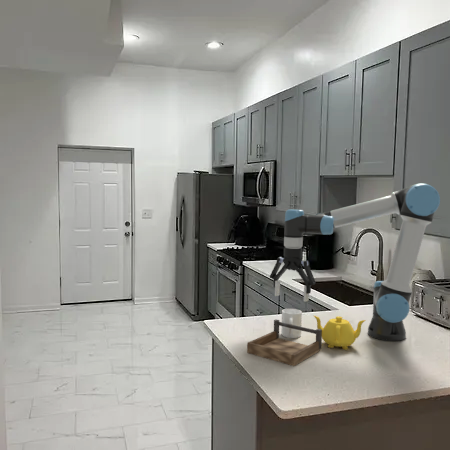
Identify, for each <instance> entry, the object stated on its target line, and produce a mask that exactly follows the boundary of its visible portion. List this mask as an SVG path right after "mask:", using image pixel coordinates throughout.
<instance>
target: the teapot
mask: <svg viewBox="0 0 450 450" xmlns="http://www.w3.org/2000/svg"><path fill="white" fill-rule="evenodd" d="M313 317H314V319H316V323H317V324H316V329H322V340H323V342H325V344H327V348H329V349H333V348H334V347H341V348H342V350H344V351H345V350H349V348H348V347H350V346H352V345H353V344H354V343H355V342H356V340H357V339H358V338H359V337H360V335H361V332H362V325H363V323H364V322H366V319H364V320H359V321H358V323H357V326H356V329H355V330H354V328H353V326H352V324H351V323H350V321H349V320H348V319H345V318H343V317H342V316H339V315H338V316H335V318H329V319H328V321H327V322H326V323H325V325H324V327H323V326H322V322H321V318H320V317H319V316H317V315H313Z"/></svg>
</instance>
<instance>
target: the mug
mask: <svg viewBox="0 0 450 450" xmlns="http://www.w3.org/2000/svg"><path fill="white" fill-rule="evenodd" d="M302 314H303V311H302V310H300V309H297V308H284V309H281V322H282V323H286V324H291V325H295V326H300V327H303V326H302V321H303V315H302ZM280 329H281V331H280V332H281V336H283V337H284V338H288V339H298V338H300V337H301V336H302V331H301V330H297V329H292V328H288V327H284V326H281V328H280Z"/></svg>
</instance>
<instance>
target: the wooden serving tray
mask: <svg viewBox="0 0 450 450" xmlns="http://www.w3.org/2000/svg"><path fill="white" fill-rule="evenodd" d="M282 326H284V327H288V328H292V329H297V330H301V332H306V333H311V334H315V341H313V342H312V343H309V344H305V343H304V344H303V343H299V342H296V341H292V340H288V339H283V338H280V327H282ZM322 340H323V339H322V329H317V328H316V329H312V328H308V327H305V326H304V327H303V326H301V327H300V326H295V325H291V324H286V323H282V321H280V319H274V320H273V330H272V331H270V332H269V333H266V334H264V335H261V336H259V337H257V338H254V339H253V340H250V341H248V342H247V345H246V346H247V348H246V353H247V354H251V355H253V356H256V357H257V356H258V357H261V358H264V359H267V360H268V359H269V360H271V361H275V362H278V363H282V364H286V365H289V366H291V367H292V366H293V367H295V366H297V365H298V364H300V363H302V362H303V361H305V360H307V359H308V358H311V357H312V356H315V354H318V353H319V352H321V349H322Z"/></svg>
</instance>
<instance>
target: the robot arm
mask: <svg viewBox="0 0 450 450" xmlns="http://www.w3.org/2000/svg"><path fill="white" fill-rule="evenodd" d="M440 203H441V198H440V193H439V192H438V190H437V189H436V188H435V187H434V186H432V185H430V184H427V183H422V182H421V183H415V184H412V185H409V186H407V187H404V188H402V189H399V190H396V191H393V192H392V193H391V194H390V195H387V196H382V197H379V198H375V199H372V200H368V201H364V202H360V203H357V204H353V205H348V206H344V207H340V208H336V209H333V210H330V211H324V212H319V213H316V214H305V211H304V210H303V209H291V208H290V209H287V210H286V211H285V213H284V234H283V235H284V237H283V246H284V248H283V257H282V256H279V257H277V258H276V262H275V265H274V267H273V268H272V271H271V273H270V275H269V278H270V279H272V280H273V288H274V297H278V296H281V293H280V292H281V279H280V278H281V277H282V276H283V274H284V273H285V272H286V271H287V270H289V271H290V270H291V271H294V272H295V271H296V272H297V273H298V275H299V276H300V278H301V279H302V281H303V282H304V286H303V302H304V303H306V302H308V301H310V300H309V295H310V294H311V289H312V286H314V285H316V280H315V278H314V275H313V272H312V269H311V267H310V261H309V260H302V258H303V248H302V247H303V241H304V234H310V235H311V234H313V235H332V234H333V233H334V229H337V228H340V227H345V226H349V225H351V224H356V223H361V222H364V221H365V222H366V221H369V220H372V219H377V218H381V217H387V216H388V215H389V216H390V215H393V214H396V215H398V216H400V218H401V220H402V222H401V225H400V229H399V233H398V236H397V241H396V243H395V248H394V251H393V255H392V258H391V262H390V264H389V265H390V266H389V269H388V273H387V276H386V279H385V280H377V281H374V283H373V304H372V305H373V306H372V317H371V320H370V322H369V325H368V328H367V335H368V336H369V337H371V338H375V339H377V340H381V341H388V342H389V341H390V342H398V341H403V340H406V338H407V331H406V329H405V324H404V320H405V319H406V318H407V316H408V315H409V314H410V313H409V312H410V304H409V303H410V301H411V297H412V293H413V290H412V288H411V287H410V286H411V285H410V284H411V281H412V278H413V274H414V270H415V267H416V263H417V261H418V257H419V253H420V249H421V246H422V243H423V238H424V236H425V235H424V234H425V232H426V228H427V226H429V225H430V224H432V223H433V218H434V216H435V213H436V211H437V210H438V209H439V207H440ZM282 263H283V266H282ZM281 266H282V267H281ZM280 267H281V268H280ZM279 269H280V270H279Z"/></svg>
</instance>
